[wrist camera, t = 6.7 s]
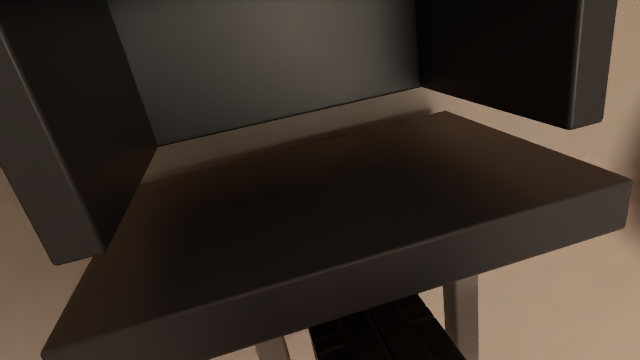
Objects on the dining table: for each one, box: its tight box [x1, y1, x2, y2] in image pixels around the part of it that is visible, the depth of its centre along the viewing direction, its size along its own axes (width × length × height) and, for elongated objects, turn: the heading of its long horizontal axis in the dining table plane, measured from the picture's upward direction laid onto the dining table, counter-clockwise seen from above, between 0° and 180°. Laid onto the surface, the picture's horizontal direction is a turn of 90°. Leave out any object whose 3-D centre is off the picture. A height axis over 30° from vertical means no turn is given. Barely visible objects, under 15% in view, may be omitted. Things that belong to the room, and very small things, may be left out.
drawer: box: [0, 0, 632, 360], centre depth 9 cm, size 19×11×7 cm, turn 10°
